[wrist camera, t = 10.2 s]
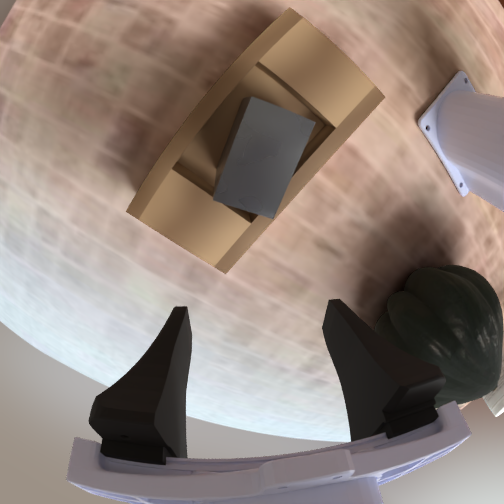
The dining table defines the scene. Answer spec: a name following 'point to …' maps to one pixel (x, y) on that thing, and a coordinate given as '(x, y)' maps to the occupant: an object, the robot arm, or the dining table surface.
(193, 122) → the open wooden tray
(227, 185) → the grey rectangular prism
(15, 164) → the dining table surface
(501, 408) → the supplement tub
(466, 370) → the squash
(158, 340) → the robot arm
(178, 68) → the dining table surface
